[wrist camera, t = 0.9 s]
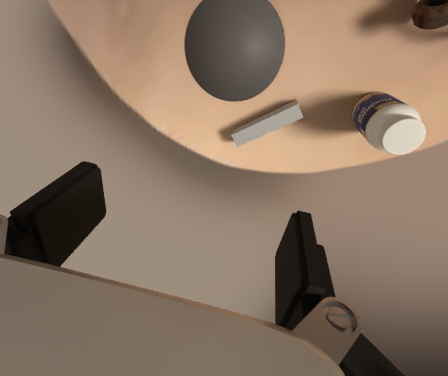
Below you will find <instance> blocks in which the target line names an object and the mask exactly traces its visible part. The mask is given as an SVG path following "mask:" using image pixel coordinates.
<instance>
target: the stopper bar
mask: <svg viewBox="0 0 448 376" xmlns="http://www.w3.org/2000/svg"><path fill="white" fill-rule="evenodd" d="M302 118H303V115H302V112H301V110H300V107H299V105H298V102H297V100H295V101H293V102H290V103H288V104H286V105H284V106H282V107H280V108H278V109H276V110H274V111H271V112H269V113H267V114H265V115H263V116H261V117H259V118H257V119H255V120H252V121H250V122H248V123H246V124H244V125H242V126H240V127H238V128H236V129H234V130H233V132H232V134H231V136H232V138H233V140H234V141H235V143H236V145H237V147H238V146H240V145H243V144H245V143H247V142H249V141H252V140H254V139H256V138H259V137H261V136H263V135H265V134H268V133H270V132H272V131H274V130H277V129H279V128H281V127H283V126H286V125H288V124H290V123H292V122H295V121H297V120H299V119H302Z"/></svg>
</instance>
